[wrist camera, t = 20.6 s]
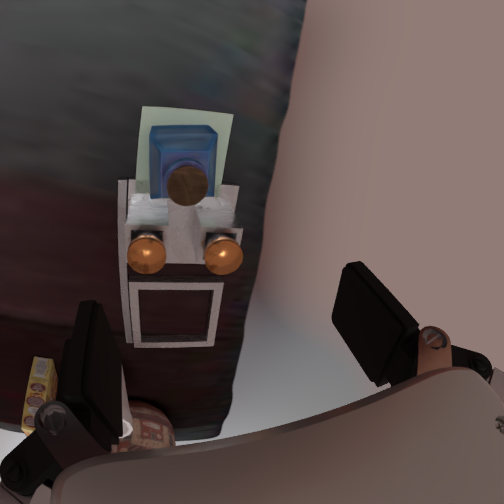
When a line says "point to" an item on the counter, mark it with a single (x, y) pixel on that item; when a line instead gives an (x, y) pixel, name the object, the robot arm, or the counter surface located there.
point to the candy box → (39, 390)
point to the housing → (173, 253)
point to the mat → (180, 117)
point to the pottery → (146, 429)
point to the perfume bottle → (182, 163)
